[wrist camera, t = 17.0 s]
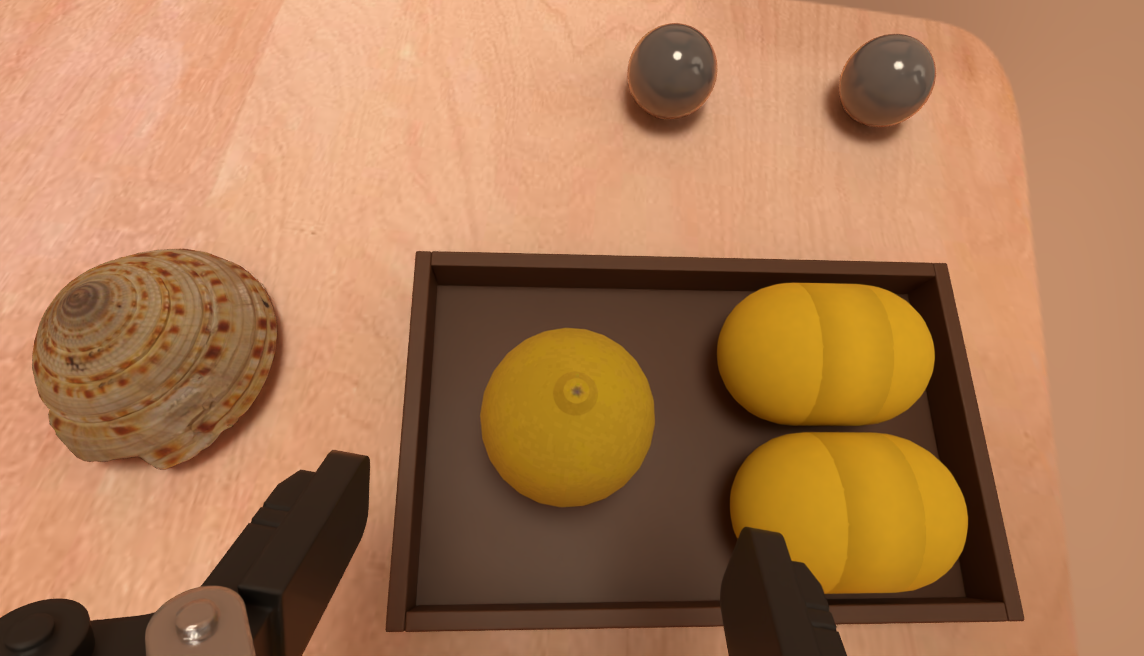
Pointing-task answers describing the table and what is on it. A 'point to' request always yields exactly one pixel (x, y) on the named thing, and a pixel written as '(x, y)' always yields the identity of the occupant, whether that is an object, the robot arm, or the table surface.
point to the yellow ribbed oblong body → (825, 354)
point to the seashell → (153, 355)
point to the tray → (672, 464)
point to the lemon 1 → (567, 417)
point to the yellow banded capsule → (854, 508)
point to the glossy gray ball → (887, 80)
